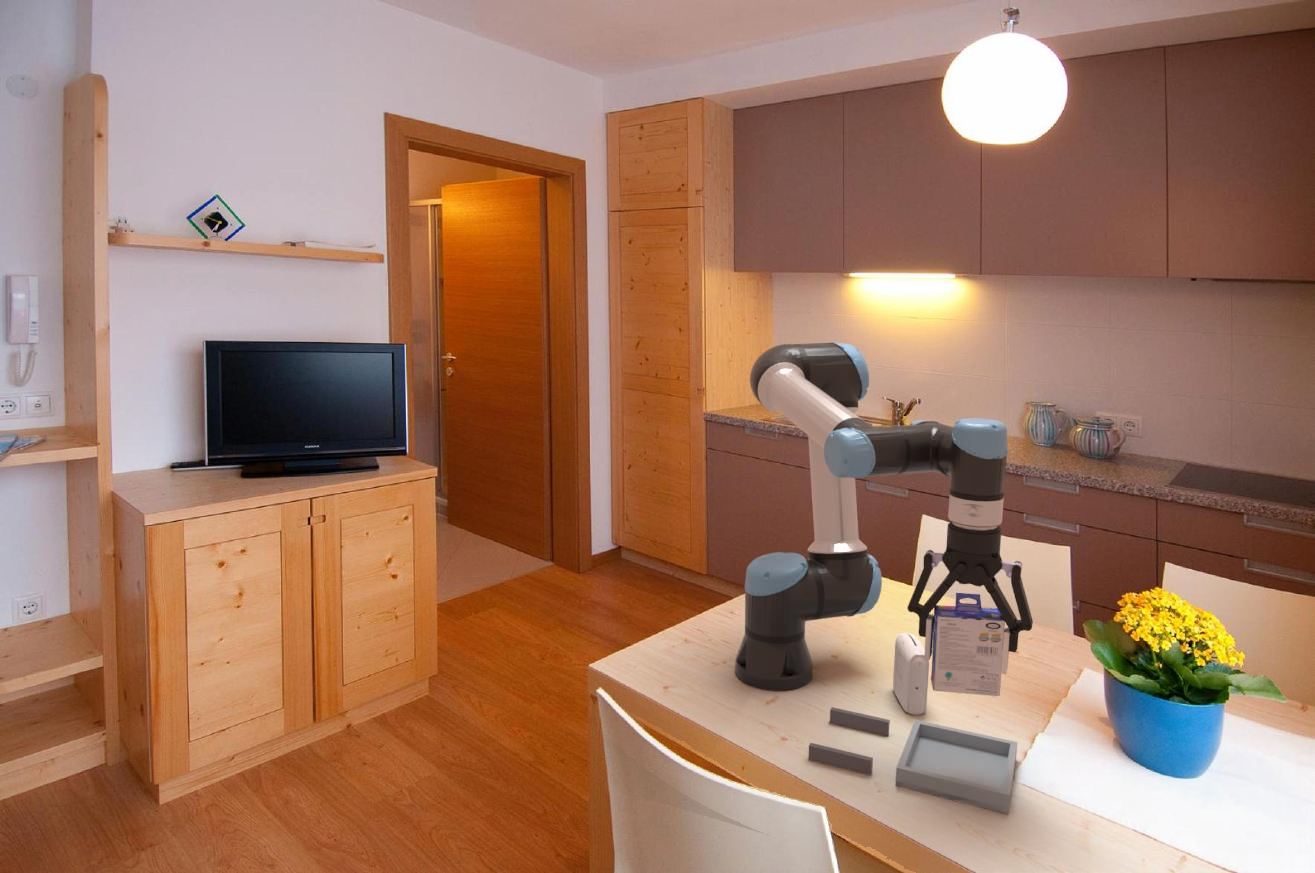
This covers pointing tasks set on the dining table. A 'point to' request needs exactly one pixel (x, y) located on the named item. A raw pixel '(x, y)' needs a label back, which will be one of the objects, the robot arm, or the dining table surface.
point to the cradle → (843, 757)
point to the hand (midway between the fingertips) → (965, 663)
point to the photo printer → (910, 674)
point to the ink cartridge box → (967, 648)
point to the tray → (958, 765)
